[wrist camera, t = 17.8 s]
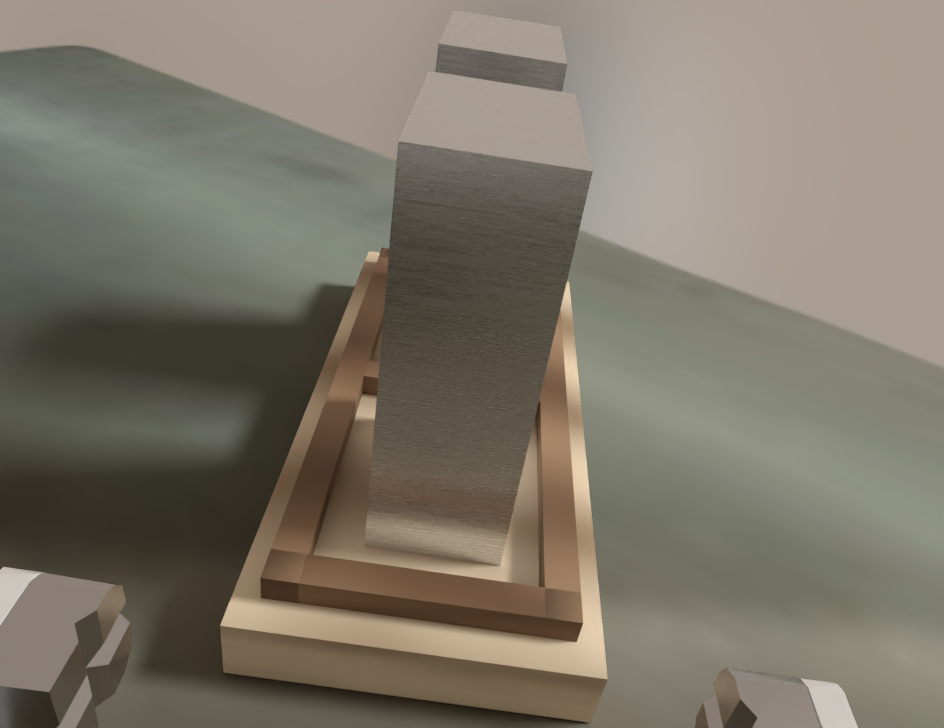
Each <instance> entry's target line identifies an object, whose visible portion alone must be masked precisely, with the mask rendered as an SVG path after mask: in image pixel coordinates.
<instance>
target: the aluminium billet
mask: <svg viewBox="0 0 944 728" xmlns="http://www.w3.org/2000/svg"><path fill="white" fill-rule="evenodd" d="M591 176H592V166H591V161H590V157H589V152H588V147H587V143H586V138H585V134H584V129H583V124H582V120H581V115H580V110H579V105H578V101H577V96H576V94H572V93H565V92H559V91H553V90H546V89H540V88H534V87H527V86H521V85H515V84H508V83H502V82H496V81H489V80H483V79H477V78H470V77H464V76H458V75H451V74H445V73H439V72H432V71H429V72H428V75H427V77H426V79H425V81H424V84H423V86H422V88H421V91H420V93H419V95H418V97H417V100H416V102H415V104H414V107H413V109H412V111H411V113H410V116H409V118H408V121H407V123H406V125H405V127H404V130H403V132H402V134H401V136H400V139H399V141H398V153H397V164H396V175H395V187H394V199H393V211H392V223H391V234H390V246H389V258H388V270H387V282H386V293H385V305H384V317H383V329H382V341H381V352H380V364H379V376H378V388H377V400H376V411H375V423H374V435H373V447H372V459H371V470H370V482H369V494H368V506H367V518H366V530H365V541H364V547H367V548H374V549H381V550H388V551H396V552H403V553H410V554H417V555H424V556H431V557H439V558H446V559H453V560H460V561H467V562H475V563H482V564H489V565H496V566H500V565H501V561H502V556H503V552H504V548H505V544H506V539H507V535H508V531H509V526H510V522H511V518H512V514H513V509H514V505H515V501H516V497H517V492H518V488H519V484H520V479H521V475H522V471H523V467H524V462H525V458H526V454H527V450H528V445H529V441H530V437H531V432H532V428H533V424H534V420H535V415H536V411H537V407H538V403H539V398H540V394H541V390H542V385H543V381H544V377H545V373H546V368H547V364H548V360H549V356H550V351H551V347H552V343H553V338H554V334H555V330H556V326H557V321H558V317H559V313H560V308H561V304H562V300H563V296H564V291H565V287H566V283H567V279H568V274H569V270H570V266H571V261H572V257H573V253H574V249H575V244H576V240H577V236H578V232H579V227H580V223H581V219H582V214H583V210H584V206H585V202H586V197H587V193H588V189H589V184H590V180H591Z"/></svg>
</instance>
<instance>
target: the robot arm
mask: <svg viewBox="0 0 944 728" xmlns="http://www.w3.org/2000/svg"><path fill="white" fill-rule="evenodd" d="M125 603H126V599H125V594H124V590H123V586H122V585H118V584H112V583H105V582H99V581H93V580H86V579H80V578H74V577H67V576H61V575H55V574H48V573H44V572H37V571H30V570H23V569H16V568H9V567H3V568H2V569H0V728H98V726H99V724H98V720H97V715H96V711H95V707H96V706H98V705H99V704H101V703H102V702H103V701H105V700H106V699H107V698H109V697H110V696H112V695H113V694H114V693H115V691H116V689H117V687H118V685H119V683H120V681H121V679H122V677H123V674H124V672H125V668H126V665H127V662H128V658H129V655H130V651H131V639H132V632H131V626H130V622H129V621H128V620H127V619H125V618H124V617H123V616H122V615H121V614H120V612H121V610H122V608H123V606H124V604H125ZM714 687H715V692H716V696H714V697H712V698H710V699H709V700H707V701H705V702H703V704H702V706H701V708H700V711H699V713H698V715H697V718H696V725H695V728H858V727H857V724H856V722H855V719H854V716H853V714H852V711H851V709H850V706H849V703H848V701H847V698H846V696H845V693H844V691H843V690H842V689H841V688H840V687H839V686H838V684H835V683H831V682H825V681H816V680H808V679H799V678H796V677H794V676H786V675H778V674H770V673H762V672H754V671H746V670H737V669H729V668H726V669H724V670H722V671H720V672H719V674H718V676H717V678H716V680H715V681H714Z"/></svg>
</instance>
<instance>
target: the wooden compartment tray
mask: <svg viewBox="0 0 944 728" xmlns="http://www.w3.org/2000/svg"><path fill="white" fill-rule="evenodd" d="M388 258H389V249H387V248H382V249H381V252H380V253H376V252H370V251H369V253H368V255H367V258H366V260H365V263H364V265H363V268H362V270H361V273H360V275H359V278H358V280H357V283H356V285H355V288H354V290H353V293H352V295H351V298H350V300H349V303H348V305H347V308H346V310H345V313H344V315H343V318H342V320H341V323H340V326H339V328H338V331H337V333H336V336H335V338H334V341H333V343H332V346H331V348H330V351H329V353H328V356H327V358H326V361H325V363H324V366H323V368H322V371H321V373H320V376H319V378H318V381H317V383H316V386H315V388H314V391H313V393H312V396H311V398H310V401H309V403H308V406H307V408H306V411H305V413H304V416H303V418H302V421H301V423H300V426H299V429H298V431H297V434H296V436H295V439H294V441H293V444H292V446H291V449H290V451H289V454H288V456H287V459H286V461H285V464H284V466H283V469H282V471H281V474H280V476H279V479H278V481H277V484H276V486H275V489H274V491H273V494H272V496H271V499H270V501H269V504H268V506H267V509H266V511H265V514H264V516H263V519H262V521H261V524H260V526H259V529H258V532H257V534H256V537H255V539H254V542H253V544H252V547H251V549H250V552H249V554H248V557H247V559H246V562H245V564H244V567H243V569H242V572H241V574H240V577H239V579H238V582H237V584H236V587H235V589H234V592H233V594H232V597H231V599H230V602H229V604H228V607H227V609H226V612H225V614H224V617H223V619H222V622H221V624H220V632H221V646H222V659H223V673H230V674H238V675H245V676H252V677H260V678H267V679H274V680H282V681H289V682H296V683H304V684H311V685H318V686H326V687H333V688H340V689H348V690H355V691H362V692H369V693H377V694H384V695H391V696H399V697H406V698H413V699H421V700H428V701H435V702H443V703H450V704H457V705H465V706H472V707H479V708H486V709H494V710H501V711H508V712H516V713H523V714H530V715H538V716H545V717H552V718H560V719H567V720H574V721H582V722H589V723H590V722H591V719H592V717H593V714H594V712H595V709H596V707H597V704H598V702H599V699H600V697H601V694H602V692H603V689H604V687H605V684H606V682H607V669H606V658H605V648H604V638H603V627H602V617H601V607H600V596H599V586H598V576H597V566H596V555H595V545H594V535H593V524H592V514H591V504H590V493H589V483H588V473H587V462H586V452H585V442H584V431H583V421H582V411H581V400H580V390H579V380H578V369H577V359H576V349H575V338H574V328H573V318H572V307H571V297H570V287H569V282H567V283H566V287H565V291H564V296H563V300H562V304H561V308H560V313H559V317H558V321H557V326H556V330H555V334H554V338H553V343H552V347H551V351H550V356H549V360H548V364H547V368H546V373H545V377H544V381H543V385H542V390H541V394H540V398H539V403H538V407H537V411H536V415H535V420H534V424H533V428H532V432H531V437H530V441H529V445H528V450H527V454H526V458H525V462H524V467H523V471H522V475H521V479H520V484H519V488H518V492H517V497H516V501H515V505H514V509H513V514H512V518H511V522H510V526H509V531H508V535H507V539H506V544H505V548H504V552H503V556H502V561H501V565H500V566H496V565H489V564H482V563H475V562H467V561H460V560H453V559H446V558H439V557H431V556H424V555H417V554H410V553H403V552H396V551H388V550H381V549H374V548H367V547H364V541H365V530H366V518H367V506H368V494H369V482H370V470H371V459H372V447H373V435H374V423H375V411H376V400H377V388H378V376H379V364H380V352H381V341H382V329H383V317H384V305H385V293H386V282H387V270H388Z"/></svg>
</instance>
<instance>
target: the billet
mask: <svg viewBox="0 0 944 728" xmlns="http://www.w3.org/2000/svg"><path fill="white" fill-rule="evenodd" d="M566 68H567V60H566V54H565V49H564V44H563V38H562V34H561V28H560V27H556V26H550V25H544V24H538V23H531V22H525V21H519V20H513V19H507V18H500V17H494V16H488V15H482V14H475V13H470V12H463V11H457V10H454V11H453V13H452V16H451V18H450V20H449V22H448V24H447V26H446V28H445V31H444V33H443V35H442V37H441V39H440V41H439V44H438V54H437V62H436V72H439V73H445V74H451V75H458V76H464V77H470V78H477V79H483V80H489V81H496V82H502V83H508V84H515V85H521V86H527V87H534V88H540V89H546V90H553V91H559V92H562V88H563V83H564V78H565V73H566Z"/></svg>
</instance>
